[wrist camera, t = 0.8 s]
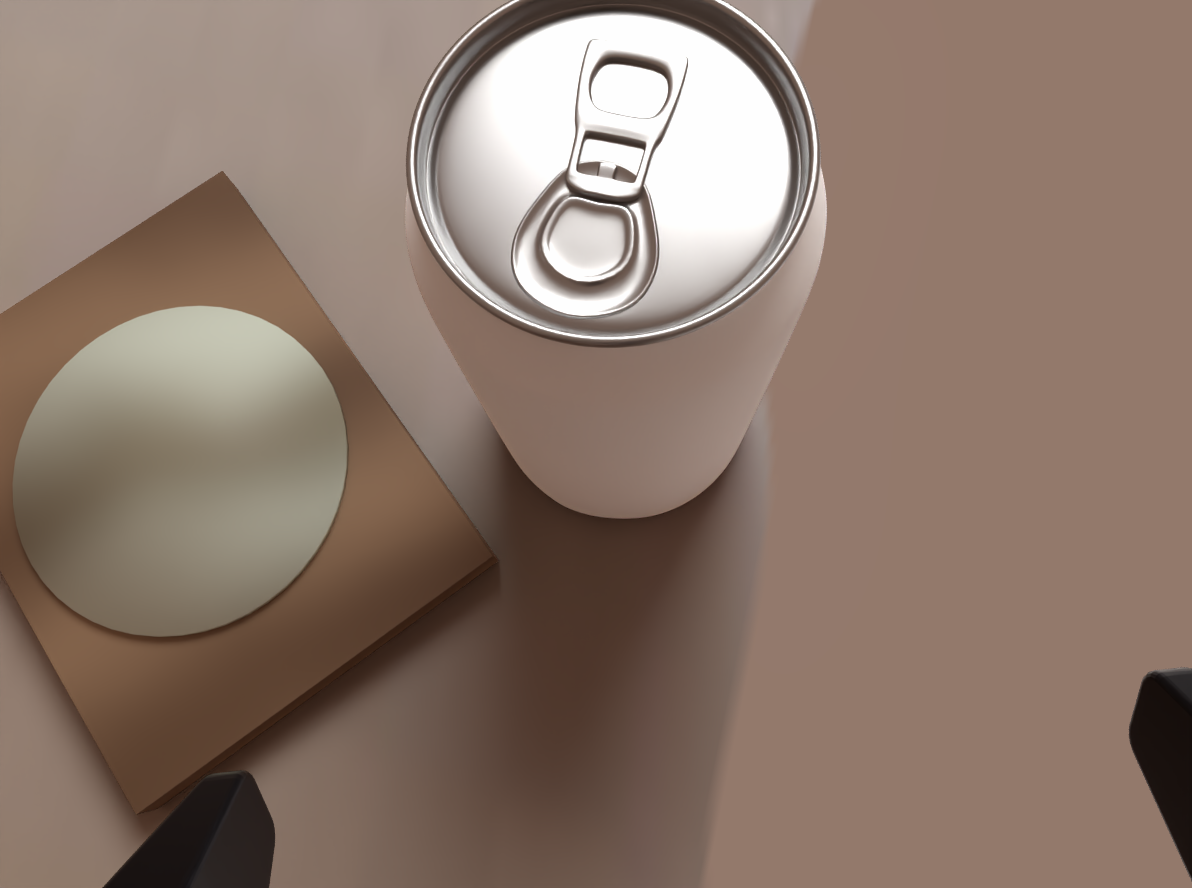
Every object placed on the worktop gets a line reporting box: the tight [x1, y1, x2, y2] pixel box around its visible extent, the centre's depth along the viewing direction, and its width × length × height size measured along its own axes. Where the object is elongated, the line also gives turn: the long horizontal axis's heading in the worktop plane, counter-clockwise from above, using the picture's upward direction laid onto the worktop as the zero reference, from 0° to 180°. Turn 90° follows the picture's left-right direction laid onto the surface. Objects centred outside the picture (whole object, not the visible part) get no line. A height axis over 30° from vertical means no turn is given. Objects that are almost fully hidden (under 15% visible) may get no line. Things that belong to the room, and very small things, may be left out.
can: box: [405, 0, 827, 519], centre depth 18 cm, size 6×6×12 cm
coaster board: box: [0, 171, 499, 815], centre depth 23 cm, size 13×10×1 cm
